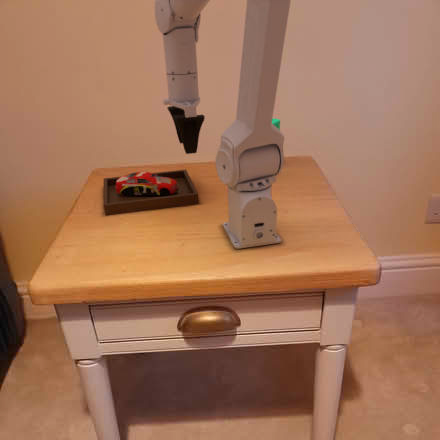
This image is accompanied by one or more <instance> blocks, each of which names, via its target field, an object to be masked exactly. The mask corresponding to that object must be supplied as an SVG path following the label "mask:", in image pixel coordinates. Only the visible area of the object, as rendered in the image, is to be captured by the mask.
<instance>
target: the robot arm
mask: <svg viewBox="0 0 440 440" xmlns="http://www.w3.org/2000/svg"><path fill="white" fill-rule="evenodd" d="M210 1H211V0H154V17H155V23H156V26H157V28H158V31H159V32H160V33H161V34H162V41H163V52H164V62H165V63H164V64H165V72H166V83H167V93H168V94H167V95H168V98H163V99H162V104H163V105H164V106H167V108H166V109H167V111H168V113H169V114H170V116H171V118H172V120H173V124H174V128H175V131H176V135H177V139H178V142H179V144H181V145H183V149H184V152H185V155H190V154H191V155H192V154H197V152H198V146H199V138H200V133H201V129H202V126H203V124H204V121H205V118H206V117H205V115H204V114H198V113H197V107H198V106H199V105H200V103H201V97H200V92H199V91H200V90H199V77H198V76H199V75H198V74H199V73H198V72H199V71H198V58H197V56H198V55H197V43H198V42H199V40H200V39H199V29H200V25H201V18H202V17H201V13H202V12H203V10H204V9H205V7H206V6H207V5H208V3H209V2H210ZM290 6H291V0H246V7H245V8H246V9H245V17H244V30H243V40H242V50H241V51H242V52H241V61H240V71H239V72H240V73H239V84H238V94H237V104H236V114H235V120H234V121H233V122H232V123H231V124H230V125H229V126H228V127H227V128H226V129H225V130H224V131H223V132H222V133H221V135H220V142H219V147H218V149H217V152H216V154H215V159H214V160H215V161H214V162H215V171H216V173H217V177H218V178H219V181H221V182H222V183H223V185H225V186H226V187H227V200H228V201H227V204H228V208H227V209H228V221H226V222H222V227H223V229H224V230H225V232H226V234H227V237H228V238H229V240H230V242H231V244H232V246H233V247H234V249H237V250H238V249H244V248H245V249H246V248H253V247H260V246H266V245H273V244H280V243H281V242H282V239H281V237H280V236H279V235H278V233H277V222H278V221H277V219H278V208H277V204H276V203H275V201H274V199H273V195H272V193H273V192H272V190H273V188H272V187H273V184H275V183H276V182H277V176H279V175H280V174H281V172H282V171H283V168H284V165H285V152H284V143H285V142H284V141H285V136H284V134H283V133H282V132H281V129H280V130H279V129H278V128H277V127H275V126H274V125H273V124H272V118H273V117H274V110H275V103H276V96H277V90H278V84H279V79H280V71H281V64H282V58H283V51H284V46H285V45H284V44H285V40H286V39H285V38H286V31H287V27H288V20H289V13H290ZM168 105H170V106H168Z"/></svg>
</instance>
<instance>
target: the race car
mask: <svg viewBox="0 0 440 440" xmlns="http://www.w3.org/2000/svg"><path fill="white" fill-rule="evenodd" d="M153 173H154V172H149V171H138V172H137V171H136V172H131V173H129V174H126V175H123V176H122V177H121V176H118V177H119V178H118V179H117V181H116V186H115V188H116V192H117V193H119V194H122V195H123V194H125V196H127V197H130V196H132V195H160V193H161V195H162V196H163V197H165V196H168V195H169V193H170V194H172V193H175V192H176V191H177V190H178V183H177V182H176V181H175V180H174V179H172V178H167V177H160V176H157V174H156V175H155V174H153Z"/></svg>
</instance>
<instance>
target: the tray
mask: <svg viewBox="0 0 440 440" xmlns="http://www.w3.org/2000/svg"><path fill="white" fill-rule="evenodd" d="M152 173H153V174H155V175H156V174H157V176H160V177H167V178H172V179H174V180H175V181H176V182H177V183H178V190H177V191H176V192H175V193H172V194H170V193H169V195H168V196H165V197H163V196H162V195H161V193H160V195H132V196H130V197H127V196H125V194H123V195H122V194H119V193H117V192H116V188H115V186H116V181H117V179H118V178H119V177H122V176H114V177H113V176H112V177H104V178H103V210H104V215H105V216H109V215H111V216H112V215H119V214H125V213H134V212H142V211H143V212H144V211H151V210H157V209H158V210H159V209H167V208H176V207H183V206H192V205H199V204H200V198H199V196H200V195H199V193H198V191H197V188H196V186H195V185H194V182H193V180H192V179H191V177H190V174H189V172H188V171H187V169H179V170H169V171H168V170H167V171H160V172H152Z"/></svg>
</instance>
